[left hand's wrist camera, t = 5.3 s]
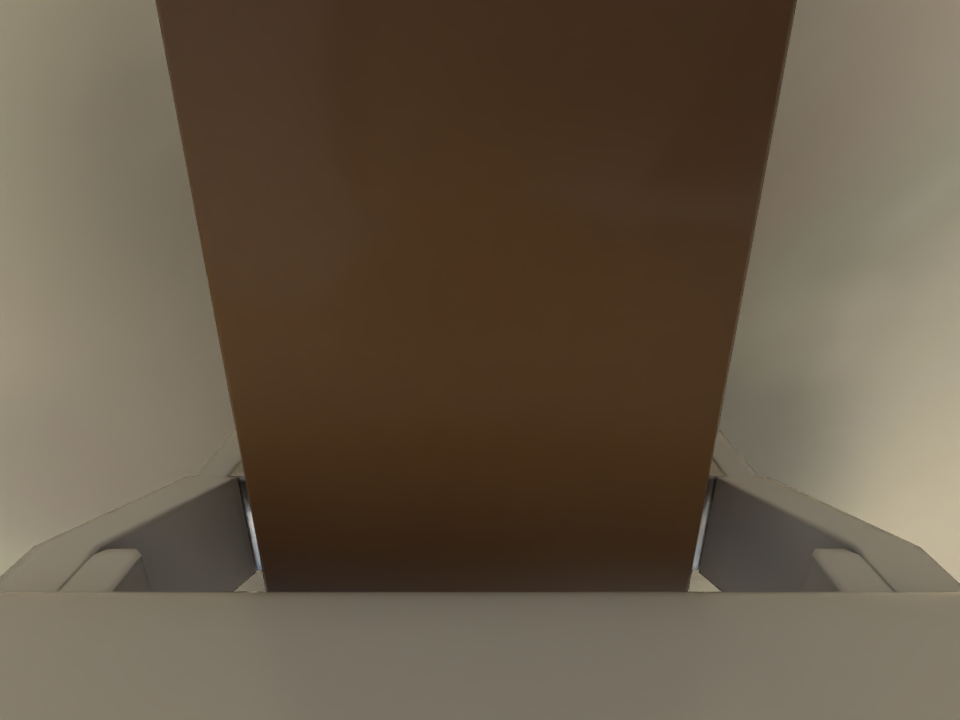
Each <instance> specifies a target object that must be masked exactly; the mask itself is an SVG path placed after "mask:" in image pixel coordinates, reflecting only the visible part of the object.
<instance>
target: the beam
mask: <svg viewBox="0 0 960 720" xmlns="http://www.w3.org/2000/svg"><path fill="white" fill-rule="evenodd" d="M796 2H797V0H156V6H157V11H158V16H159V22H160V27H161V32H162V38H163V43H164V48H165V54H166V59H167V65H168V70H169V75H170V81H171V86H172V91H173V97H174V102H175V107H176V113H177V118H178V123H179V129H180V134H181V139H182V145H183V150H184V155H185V161H186V166H187V171H188V177H189V182H190V187H191V193H192V198H193V203H194V209H195V214H196V220H197V225H198V230H199V236H200V241H201V246H202V252H203V257H204V262H205V268H206V273H207V278H208V284H209V289H210V294H211V300H212V305H213V310H214V316H215V321H216V326H217V332H218V337H219V342H220V348H221V353H222V358H223V364H224V369H225V374H226V380H227V385H228V391H229V396H230V401H231V407H232V412H233V417H234V423H235V428H236V433H237V439H238V444H239V449H240V455H241V460H242V465H243V471H244V476H245V481H246V487H247V492H248V497H249V503H250V508H251V513H252V519H253V524H254V529H255V535H256V540H257V546H258V551H259V556H260V562H261V567H262V572H263V578H264V583H265V588H266V592H688V589H689V584H690V578H691V573H692V567H693V562H694V556H695V551H696V546H697V540H698V535H699V529H700V524H701V518H702V513H703V508H704V502H705V497H706V491H707V486H708V480H709V475H710V469H711V464H712V459H713V453H714V448H715V442H716V437H717V431H718V426H719V421H720V415H721V410H722V404H723V399H724V393H725V388H726V383H727V377H728V372H729V366H730V361H731V355H732V350H733V345H734V339H735V334H736V328H737V323H738V317H739V312H740V306H741V301H742V296H743V290H744V285H745V279H746V274H747V268H748V263H749V258H750V252H751V247H752V241H753V236H754V230H755V225H756V220H757V214H758V209H759V203H760V198H761V192H762V187H763V181H764V176H765V171H766V165H767V160H768V154H769V149H770V143H771V138H772V133H773V127H774V122H775V116H776V111H777V105H778V100H779V95H780V89H781V84H782V78H783V73H784V67H785V62H786V57H787V51H788V46H789V40H790V35H791V29H792V24H793V18H794V13H795V8H796Z"/></svg>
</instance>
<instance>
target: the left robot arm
mask: <svg viewBox="0 0 960 720" xmlns="http://www.w3.org/2000/svg"><path fill="white" fill-rule="evenodd" d="M255 570H262V567H261V562H260V556H259V551H258V546H257V540H256V535H255V529H254V524H253V519H252V513H251V508H250V503H249V497H248V492H247V487H246V481H245V476H244V471H243V465H242V460H241V455H240V449H239V444H238V439H237V433H236V431H235V432H234V433H233V434H232V435H231V436H230V437H229V439H228V440H227V441H226V442H225V443H224V444H223V446H222V447H221V448H220V449H219V450H218V451H217V453H216V454H215V455H214V456H213V457H212V458H211V460H210V461H209V462H208V463H207V464H206V465H205V467H204V468H203V469H202V470H201V471H200V472H199V474H198V475H197V476H196V477H185V478H183V479H181V480H179V481H176V482H174V483H172V484H170V485H168V486H165V487H163V488H161V489H159V490H157V491H154V492H152V493H150V494H148V495H146V496H144V497H141V498H139V499H137V500H135V501H133V502H130V503H128V504H126V505H124V506H122V507H119V508H117V509H115V510H113V511H111V512H108V513H106V514H104V515H102V516H100V517H97V518H95V519H93V520H91V521H89V522H86V523H84V524H82V525H80V526H78V527H75V528H73V529H71V530H69V531H67V532H64V533H62V534H60V535H58V536H56V537H53V538H51V539H49V540H47V541H45V542H42V543H40V544H38V545H36V546H34V547H33V548H31V549H30V550H29V551H28V552H27V553H26V554H25V555H24V556H23V557H22V558H20V559H19V560H18V561H17V562H16V563H15V564H14V565H13V566H12V567H10V568H9V569H8V570H7V571H6V572H5V573H4V574H3V575H2V576H1V577H0V720H960V584H959V583H958V582H957V581H956V580H955V579H954V578H953V577H952V576H951V575H950V574H949V573H948V572H947V571H945V570H944V569H943V568H942V567H941V566H940V565H939V564H938V563H937V562H936V561H935V560H934V559H932V558H931V557H930V556H929V555H928V554H927V553H926V552H925V551H924V550H923V549H922V548H921V547H919V546H916V545H914V544H912V543H910V542H908V541H906V540H903V539H901V538H899V537H897V536H895V535H893V534H890V533H888V532H886V531H884V530H882V529H880V528H877V527H875V526H873V525H871V524H869V523H867V522H864V521H862V520H860V519H858V518H856V517H854V516H851V515H849V514H847V513H845V512H843V511H841V510H838V509H836V508H834V507H832V506H830V505H828V504H825V503H823V502H821V501H819V500H817V499H814V498H812V497H810V496H808V495H806V494H804V493H801V492H799V491H797V490H795V489H793V488H791V487H788V486H786V485H784V484H782V483H780V482H778V481H775V480H773V479H771V478H769V477H758V476H757V474H756V473H755V472H754V471H753V470H752V469H751V467H750V466H749V465H748V464H747V463H746V461H745V460H744V459H743V458H742V457H741V455H740V454H739V453H738V452H737V451H736V449H735V448H734V447H733V446H732V445H731V444H730V442H729V441H728V440H727V439H726V438H725V436H724V435H723V434H722V433H721V432H720V431H719V430H718V431H717V437H716V442H715V448H714V453H713V459H712V464H711V469H710V475H709V480H708V486H707V491H706V497H705V502H704V508H703V513H702V518H701V524H700V529H699V535H698V540H697V546H696V551H695V556H694V562H693V567H692V570H699V573H700V574H702V575H703V576H704V577H705V578H706V579H707V580H709V581H710V582H711V583H712V584H713V585H715V586H716V587H717V588H718V589H719V590H720V591H722V592H233V591H234V590H235V589H237V588H238V587H239V586H240V585H241V584H243V583H244V582H245V581H246V580H247V579H249V578H250V577H251V576H252V575H253V574H255Z"/></svg>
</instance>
